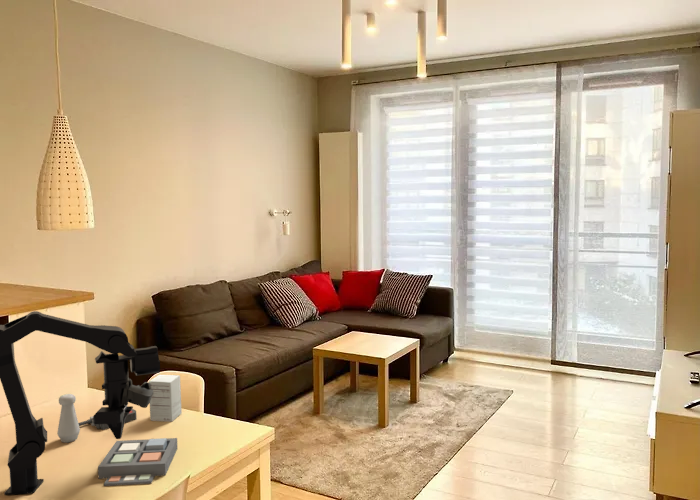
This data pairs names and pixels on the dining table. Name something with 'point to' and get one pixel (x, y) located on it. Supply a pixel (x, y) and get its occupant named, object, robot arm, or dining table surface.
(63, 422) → the salt shaker
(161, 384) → the supplement box
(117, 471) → the keypad
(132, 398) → the robot arm
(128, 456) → the key sage
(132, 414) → the walkie-talkie
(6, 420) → the dining table surface
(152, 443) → the key slate
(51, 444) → the dining table surface
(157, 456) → the key terracotta
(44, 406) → the dining table surface
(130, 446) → the key offwhite
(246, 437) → the dining table surface
